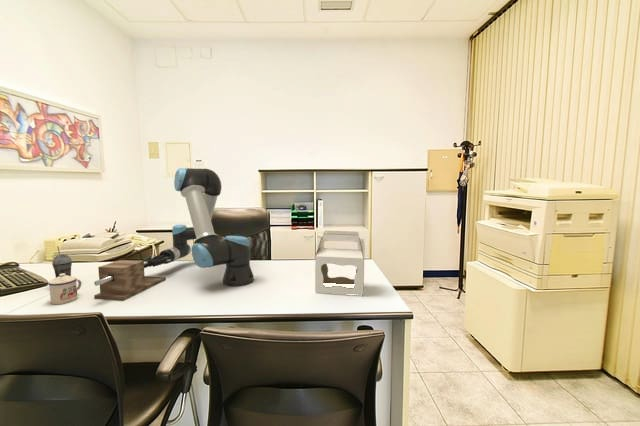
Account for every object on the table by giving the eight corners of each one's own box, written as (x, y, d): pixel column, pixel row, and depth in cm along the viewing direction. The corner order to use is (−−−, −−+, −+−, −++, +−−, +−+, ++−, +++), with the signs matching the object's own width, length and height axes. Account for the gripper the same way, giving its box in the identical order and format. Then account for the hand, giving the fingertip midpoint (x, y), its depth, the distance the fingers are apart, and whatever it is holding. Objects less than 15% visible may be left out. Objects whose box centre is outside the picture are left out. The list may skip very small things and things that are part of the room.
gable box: (314, 293, 135) (314, 232, 132) (319, 283, 148) (319, 228, 145) (363, 296, 131) (364, 234, 128) (364, 286, 144) (365, 229, 141)
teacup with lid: (62, 305, 120) (59, 278, 118) (44, 303, 122) (41, 276, 120) (90, 294, 131) (88, 269, 130) (73, 293, 133) (71, 268, 132)
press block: (141, 278, 154) (139, 253, 152) (165, 280, 151) (164, 254, 150) (94, 298, 127) (92, 268, 126) (123, 300, 125) (120, 269, 123)
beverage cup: (77, 285, 143) (74, 244, 141) (59, 290, 137) (55, 247, 135) (69, 282, 146) (65, 243, 144) (51, 287, 140) (47, 246, 138)
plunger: (131, 273, 142) (130, 261, 141) (142, 274, 141) (142, 262, 140) (90, 290, 121) (89, 275, 120) (103, 290, 120) (102, 276, 119)
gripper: (180, 262, 164) (148, 276, 141) (159, 261, 166) (125, 274, 143) (179, 249, 163) (147, 261, 140) (158, 248, 165) (124, 259, 142)
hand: (136, 268), depth 141 cm, fingers closed
